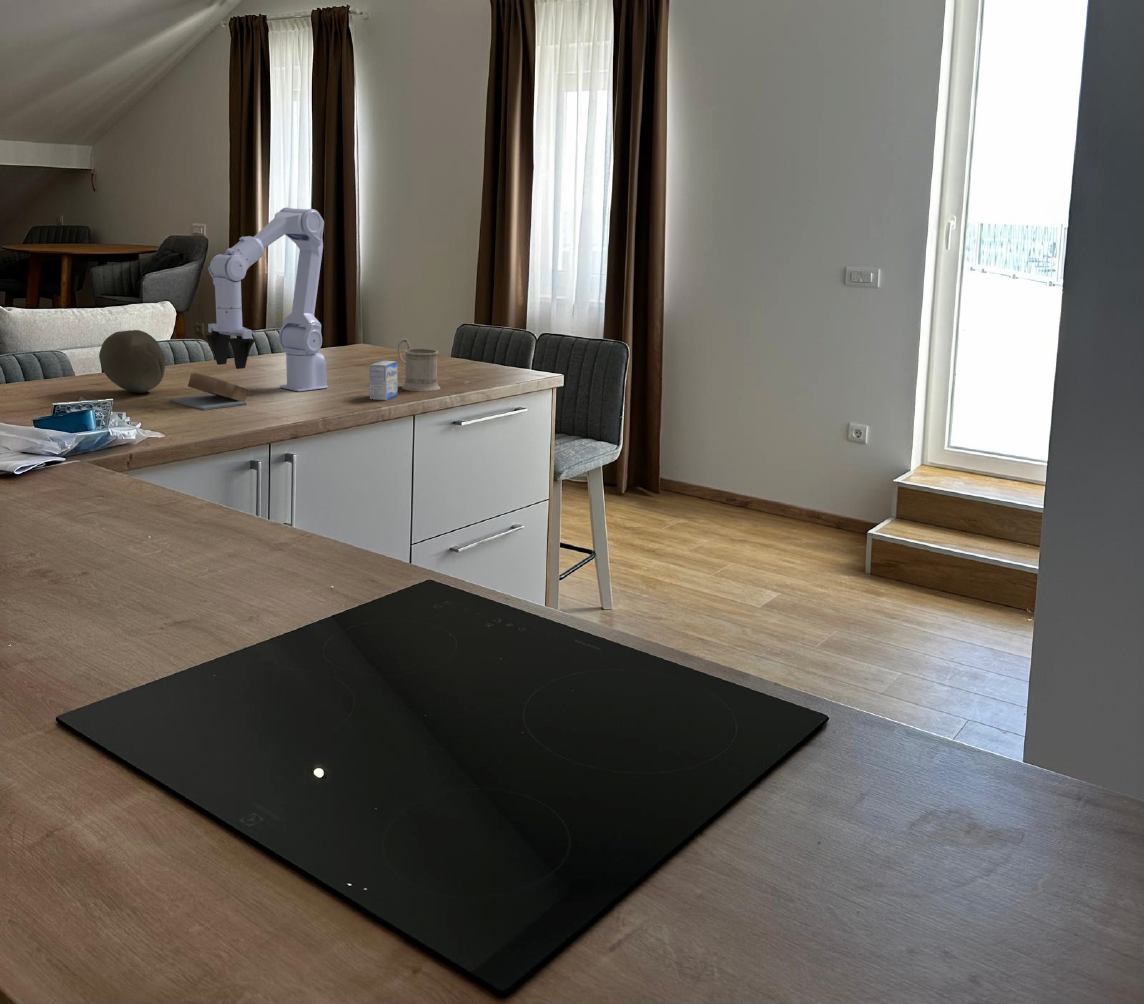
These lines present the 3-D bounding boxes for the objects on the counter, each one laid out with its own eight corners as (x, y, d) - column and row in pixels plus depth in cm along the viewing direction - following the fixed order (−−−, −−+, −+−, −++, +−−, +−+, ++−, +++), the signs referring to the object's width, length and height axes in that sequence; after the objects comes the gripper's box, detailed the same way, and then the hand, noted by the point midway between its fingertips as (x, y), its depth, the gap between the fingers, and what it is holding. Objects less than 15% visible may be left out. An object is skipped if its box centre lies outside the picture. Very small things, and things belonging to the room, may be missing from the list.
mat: (211, 395, 266) (211, 393, 265) (246, 404, 257) (246, 402, 257) (170, 401, 257) (170, 398, 257) (204, 410, 249) (204, 408, 249)
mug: (447, 389, 289) (448, 342, 286) (418, 392, 282) (418, 345, 279) (412, 381, 298) (413, 336, 295) (383, 384, 291) (383, 338, 288)
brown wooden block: (223, 382, 265) (191, 372, 258) (248, 387, 259) (216, 377, 252) (219, 396, 265) (187, 386, 258) (244, 402, 259) (212, 392, 252)
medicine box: (386, 401, 269) (386, 365, 267) (369, 399, 270) (368, 364, 268) (397, 395, 276) (397, 361, 274) (380, 394, 277) (380, 359, 275)
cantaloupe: (150, 386, 275) (146, 325, 271) (176, 394, 265) (173, 331, 261) (93, 391, 265) (88, 328, 261) (118, 400, 256) (113, 335, 252)
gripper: (195, 305, 258) (198, 363, 261) (232, 311, 249) (234, 371, 253) (222, 304, 263) (224, 361, 267) (258, 310, 254) (260, 369, 258)
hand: (231, 366), depth 260 cm, fingers open, 7 cm apart
